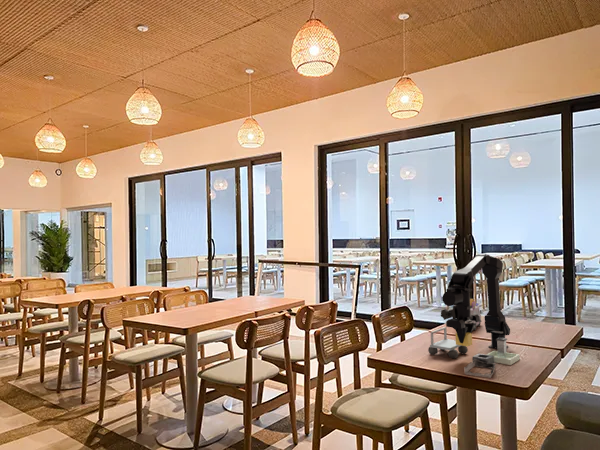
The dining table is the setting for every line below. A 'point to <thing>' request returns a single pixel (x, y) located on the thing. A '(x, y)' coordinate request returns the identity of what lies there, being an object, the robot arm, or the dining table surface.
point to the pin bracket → (483, 358)
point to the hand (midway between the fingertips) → (463, 342)
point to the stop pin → (501, 347)
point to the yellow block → (465, 340)
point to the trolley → (446, 345)
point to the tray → (509, 361)
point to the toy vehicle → (475, 312)
